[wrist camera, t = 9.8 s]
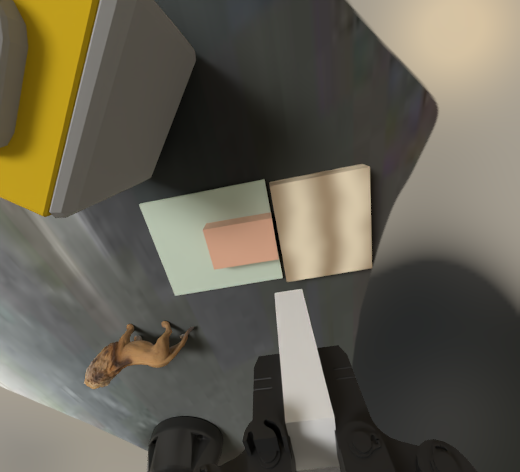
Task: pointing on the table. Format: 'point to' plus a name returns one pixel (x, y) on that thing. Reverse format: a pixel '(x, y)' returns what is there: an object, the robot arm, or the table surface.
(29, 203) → the alarm clock
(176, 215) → the mat
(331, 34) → the table surface
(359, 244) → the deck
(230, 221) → the block
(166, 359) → the lion figurine
